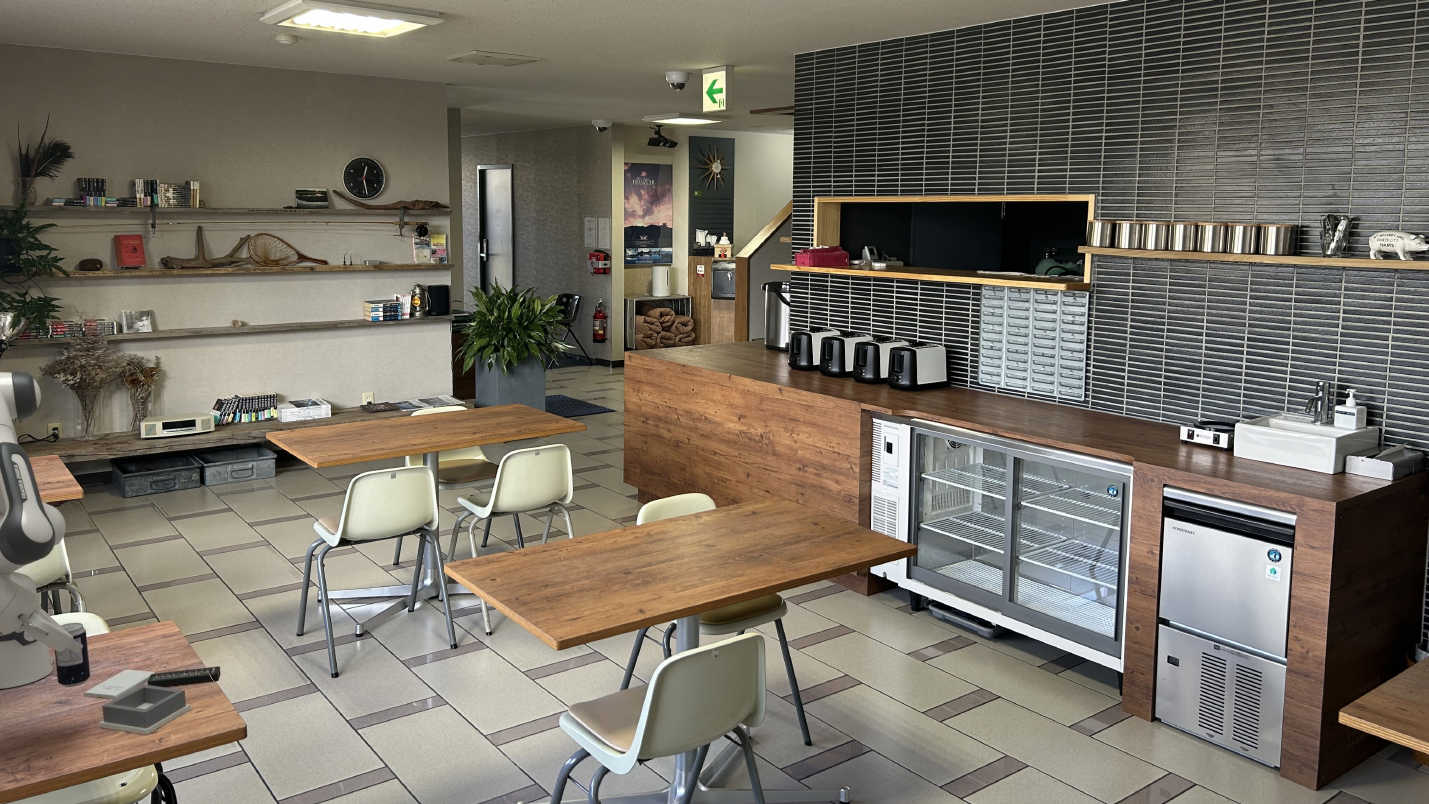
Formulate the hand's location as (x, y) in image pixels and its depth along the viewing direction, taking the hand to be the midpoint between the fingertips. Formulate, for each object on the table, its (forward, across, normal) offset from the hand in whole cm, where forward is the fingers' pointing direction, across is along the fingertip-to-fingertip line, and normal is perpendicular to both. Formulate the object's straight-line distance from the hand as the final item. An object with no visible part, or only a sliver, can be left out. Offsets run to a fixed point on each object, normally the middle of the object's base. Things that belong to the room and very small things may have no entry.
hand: (74, 643), depth 214 cm
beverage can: (+6, 0, +6) cm, 8 cm away
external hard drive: (+22, +17, +5) cm, 28 cm away
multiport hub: (+30, +9, -3) cm, 31 cm away
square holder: (+20, -4, +5) cm, 22 cm away
